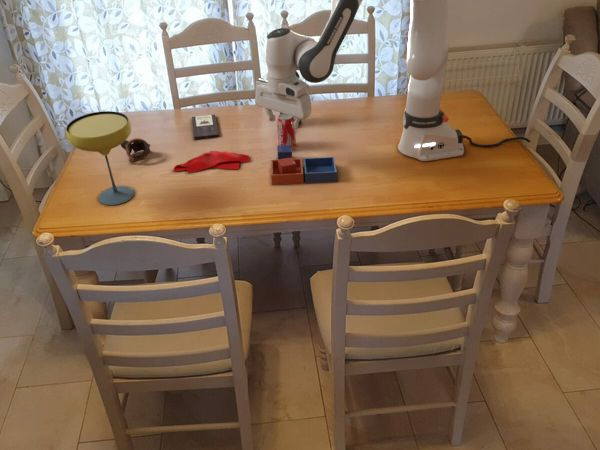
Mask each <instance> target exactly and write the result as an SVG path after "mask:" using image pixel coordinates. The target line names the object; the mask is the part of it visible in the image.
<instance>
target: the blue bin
mask: <svg viewBox="0 0 600 450" xmlns="http://www.w3.org/2000/svg"><path fill="white" fill-rule="evenodd" d="M302 159H303V160H302V162H303V176H304V182H305V184H315V183H317V184H318V183H333V182H334V183H336V182H338V170H337V165H336V160H335V156H321V157H303V158H302Z"/></svg>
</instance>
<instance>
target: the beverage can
mask: <svg viewBox="0 0 600 450" xmlns="http://www.w3.org/2000/svg"><path fill="white" fill-rule="evenodd" d="M276 119H277V120H276V127H277V146H283V145H291V147H292V149H294V148H295V147H296V146H297V144H296V143H297V142H296V140H297V139H296V129H295V128H292V122H294V121H295V119H294V118H293V116H291V115H287V114H280V113H279V115H278V117H277V118H276Z"/></svg>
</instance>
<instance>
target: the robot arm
mask: <svg viewBox="0 0 600 450" xmlns="http://www.w3.org/2000/svg"><path fill="white" fill-rule="evenodd" d="M330 2H331V12H330V15H329V18H328V19H327V22H326V24H325V26H324V28H323V30H322V32H321V34H320V36H319V38H318V39H316V38H315V37H313V36H310V35H302V34H299V33H297V32H294V31H293V30H291V28H287V27H279V28H276V29H273V30H272V31H270V32H268V34H267V35H266V38H265V43H264V44H265V46H264V47H265V48H264V50H265V51H264V55H265V56H264V57H265V63H266V67H267V70H266V78H263V77H259V78H257V79H256V81H255V95H254V96H255V98H254V99H255V104H256V106H257V107H259V108H263V109H264V112H265V113H266V114H267V116H268V121H269V122H272V123H273V122H275V121H276V115H275V114H274V113H273V111H274V112H277V113H279V114H280V113H284V114H287V115H291V116H294V119H295V121H294V122H292V128H295V130H297V129H298V128H299V127H300V125H298V122H299V121H300V119H301V120H305V119H307V118H308V117H310V116H311V114H312V99H311V95H310V94H309V91H310V84H308V83H313V84H317V83H318V84H319V83H322V82H324V81H326V80H327V79H328V78H329V77H331V75H332V73H333V71H334V67H335V61H336V57H337V54H338V52H339V50H340V48H341V46H342V43H343V41H344V39H345V38H346V36H347V34H348V32H349V30H350V28H351V26H352V24H353V21H354V19H355V18H356V15H357V13H358V10H359V9H360V6H361V4H362V2H363V0H330ZM448 17H449V0H410V20H409V30H408V39H407V53H406V71H407V73H408V75H410V76H409V80H408V86H407V93H406V103H405V109H404V113H403V119H402V122H403V123H402V125H403V128H402V132H401V133H402V134H401V137H400V140H399V143H398V145H397V149H398V151H399V152H400V153H401V154H403V155H404V156H407V157H409V158H414V159H416V160H419V161H421V162H431V161H436V160H444V159H449V158H457V157H462V156H463V155H464V153H465V147H464V144H463V142H464V139H466V140H468V142H469V144H470V145H471V146H474V147H480V148H491V147H492V148H493V147H497V146H500V145H502V144H503V143H505V142H509V141H516V140H523V141H526V142H527V143H532V142H531V140H530V139H529V138H527V137H524V136H515V137H509V138H505V139H502V140H500V141H499V142H496V143H492V144H478V143H475V142H473V141H472V138H471V137H469V136H468V135H464V134H463V133H462V131H461V130H460V129H456V128H454V127H453V126H452V125H451V124H449V123H448V122H449V117H448V115H447V114H446V113H445V112H444V111H443V110H442V109H441V101H442V100H441V99H442V92H443V86H444V82H445V75H446V70H447V64H448V58H449V53H450V42H449V39H448V36H447V34H446V32H447V22H448ZM296 71H297V72H298V71H299V73H300V76H301V77H302V78H303V79H304V80H303V79H301V78H300V79H299V78H298V77H297V76H295V72H296ZM306 82H308V83H306Z"/></svg>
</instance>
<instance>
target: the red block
mask: <svg viewBox="0 0 600 450" xmlns="http://www.w3.org/2000/svg"><path fill="white" fill-rule="evenodd" d="M293 159H294V158H293V156H292V157H290V158H285V159H279V160H278V159H277V160H278V171H279V174H294V173H296V163H295V162H294V160H293Z"/></svg>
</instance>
